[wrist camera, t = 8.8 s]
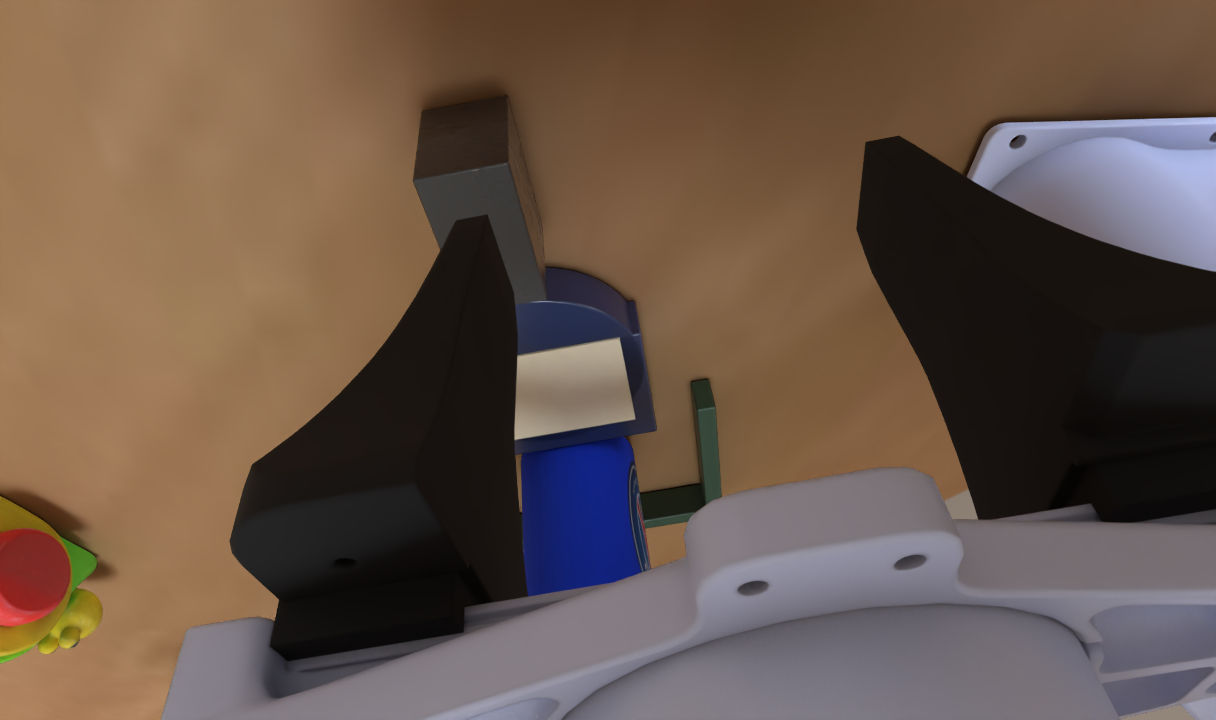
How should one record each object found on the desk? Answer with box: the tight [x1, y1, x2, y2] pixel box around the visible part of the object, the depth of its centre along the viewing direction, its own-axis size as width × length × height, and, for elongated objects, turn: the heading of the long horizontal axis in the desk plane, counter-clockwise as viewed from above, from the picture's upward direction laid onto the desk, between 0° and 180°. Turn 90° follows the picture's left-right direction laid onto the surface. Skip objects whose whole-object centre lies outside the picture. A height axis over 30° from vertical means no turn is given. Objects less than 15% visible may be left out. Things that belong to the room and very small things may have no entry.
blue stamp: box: [413, 96, 657, 455], centre depth 27 cm, size 15×8×4 cm, turn 8°
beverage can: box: [521, 437, 651, 597], centre depth 30 cm, size 5×5×15 cm
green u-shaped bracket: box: [520, 380, 722, 544], centre depth 36 cm, size 13×9×2 cm
